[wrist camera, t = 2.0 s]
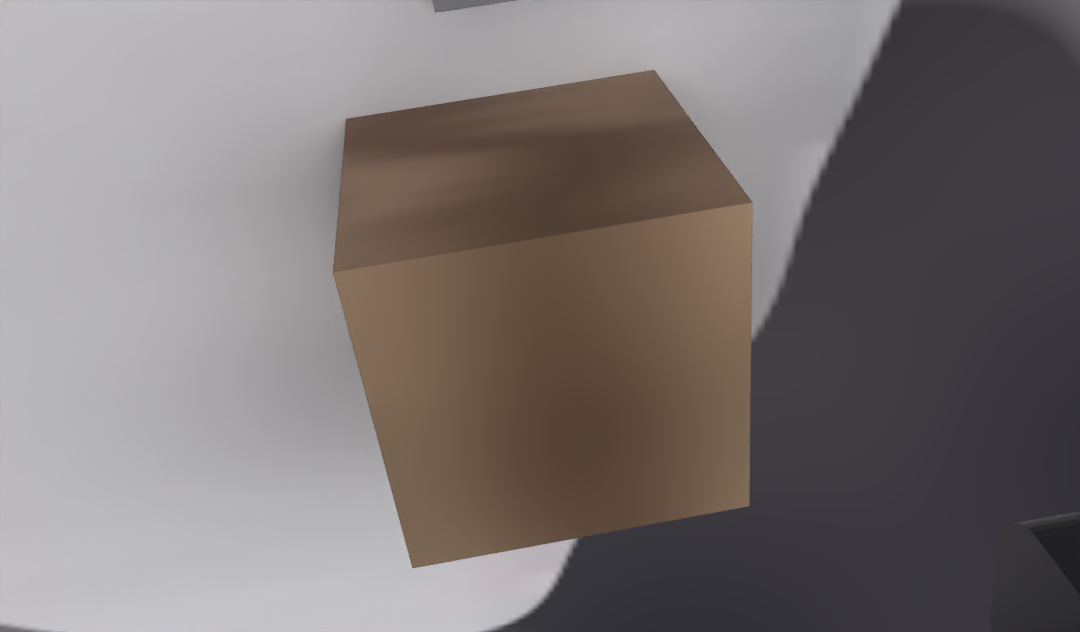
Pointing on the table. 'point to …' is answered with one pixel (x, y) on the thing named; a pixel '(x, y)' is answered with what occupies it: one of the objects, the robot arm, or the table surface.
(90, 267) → the table surface
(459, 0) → the baseplate
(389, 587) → the table surface
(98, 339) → the table surface
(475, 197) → the walnut block
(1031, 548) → the robot arm
